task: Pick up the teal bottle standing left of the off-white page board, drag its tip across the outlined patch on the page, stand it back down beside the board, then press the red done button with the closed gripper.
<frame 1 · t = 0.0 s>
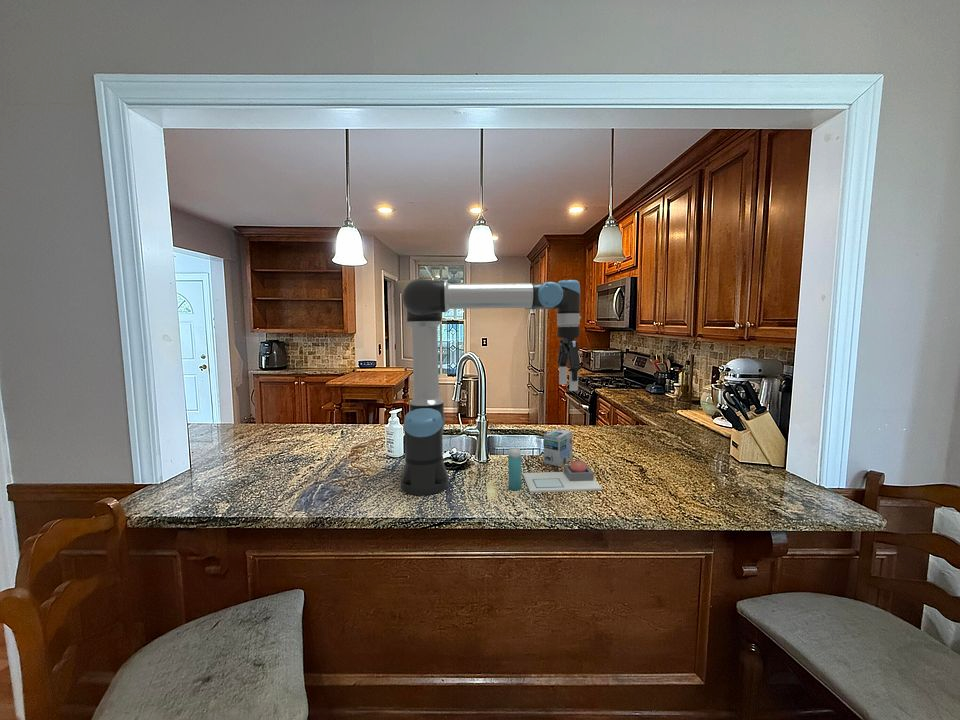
hand: (568, 387, 138), 28 cm above the worktop, fingers open, 13 cm apart
light bulb box: (558, 461, 145), on the worktop
teal bottle: (514, 487, 122), on the worktop
page board: (560, 482, 126), on the worktop
done button: (578, 467, 129), point 3 cm above the worktop, slide at 0.0 cm
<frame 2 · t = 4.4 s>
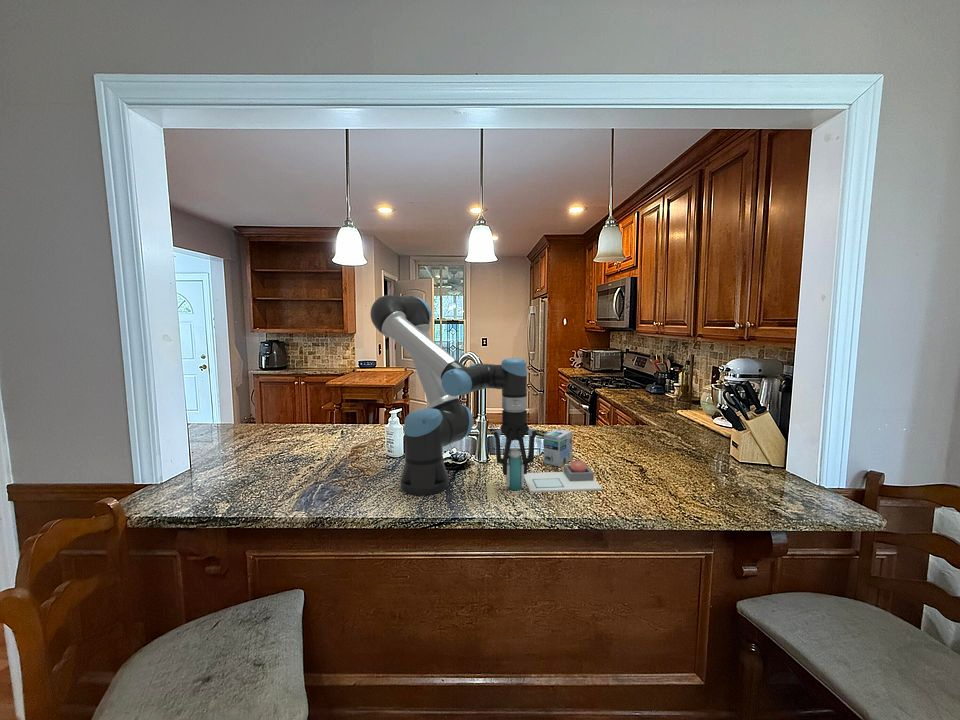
hand: (514, 484, 122), 1 cm above the worktop, fingers closed on teal bottle, 4 cm apart
teal bottle: (515, 487, 122), on the worktop, touching gripper
everything else where it was.
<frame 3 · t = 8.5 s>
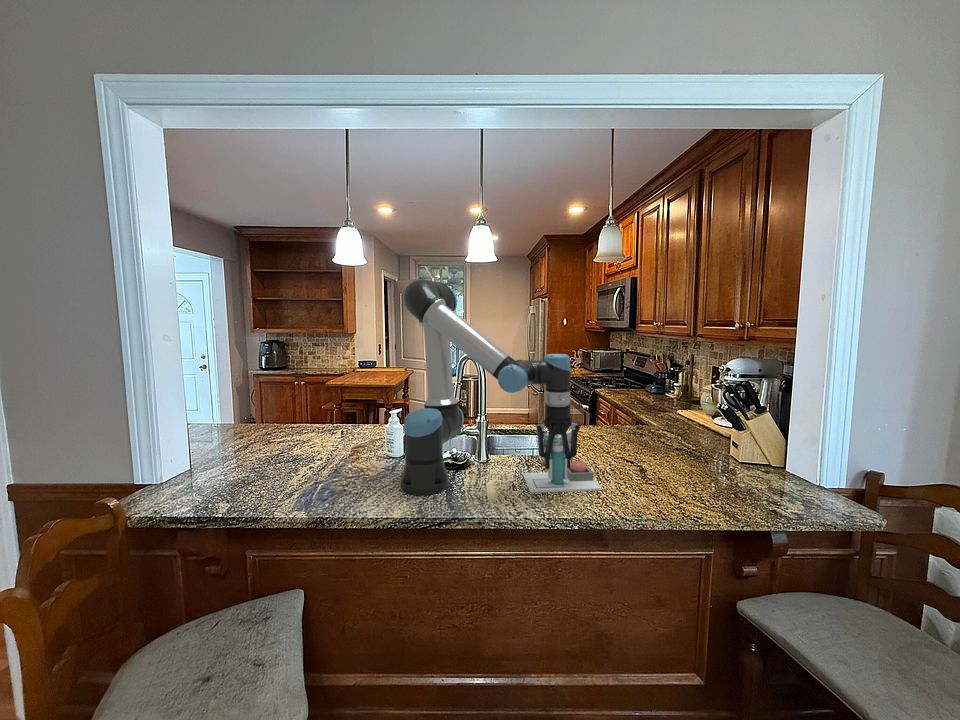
hand: (557, 477, 124), 2 cm above the worktop, fingers closed on teal bottle, 4 cm apart
teal bottle: (557, 482, 124), point 1 cm above the worktop, touching gripper
everything else where it was.
when the fingers open (2 cm above the worktop, at t = 12.6 s): teal bottle stays where it is, on the worktop.
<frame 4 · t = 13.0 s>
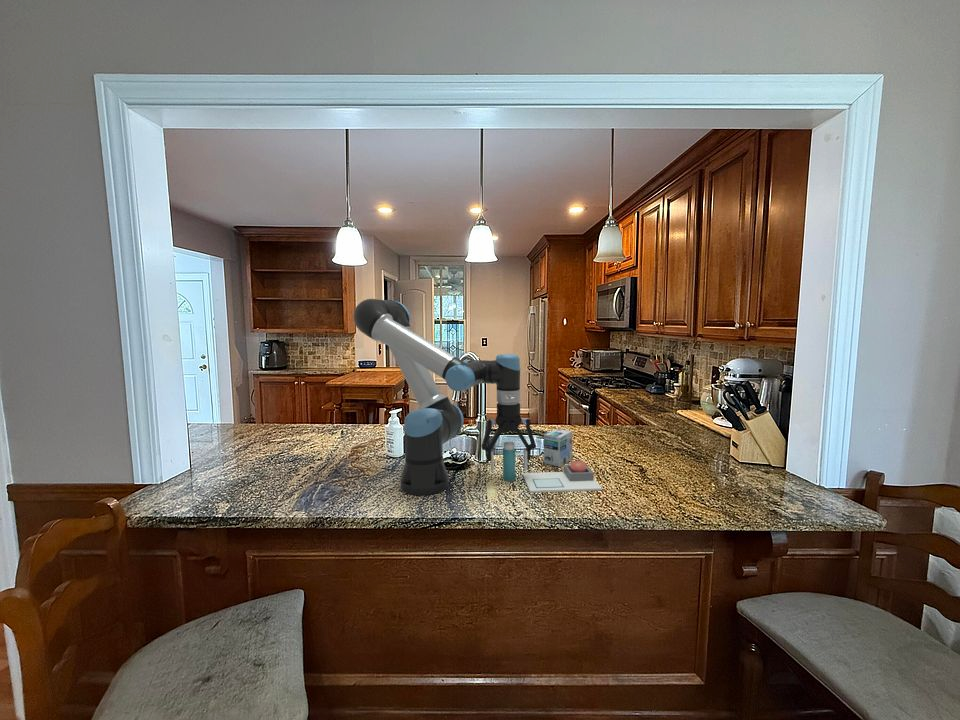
hand: (508, 469, 129), 3 cm above the worktop, fingers open, 10 cm apart
teal bottle: (509, 479, 129), on the worktop
everything else where it was.
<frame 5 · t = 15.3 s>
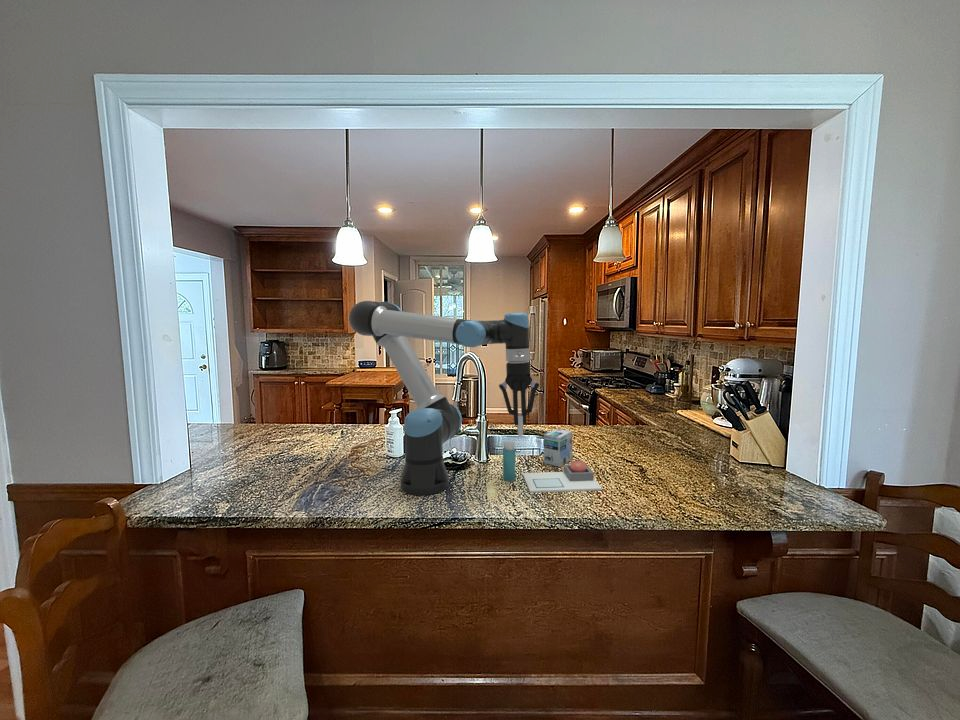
hand: (520, 434, 127), 15 cm above the worktop, fingers closed
nothing on the worktop moved.
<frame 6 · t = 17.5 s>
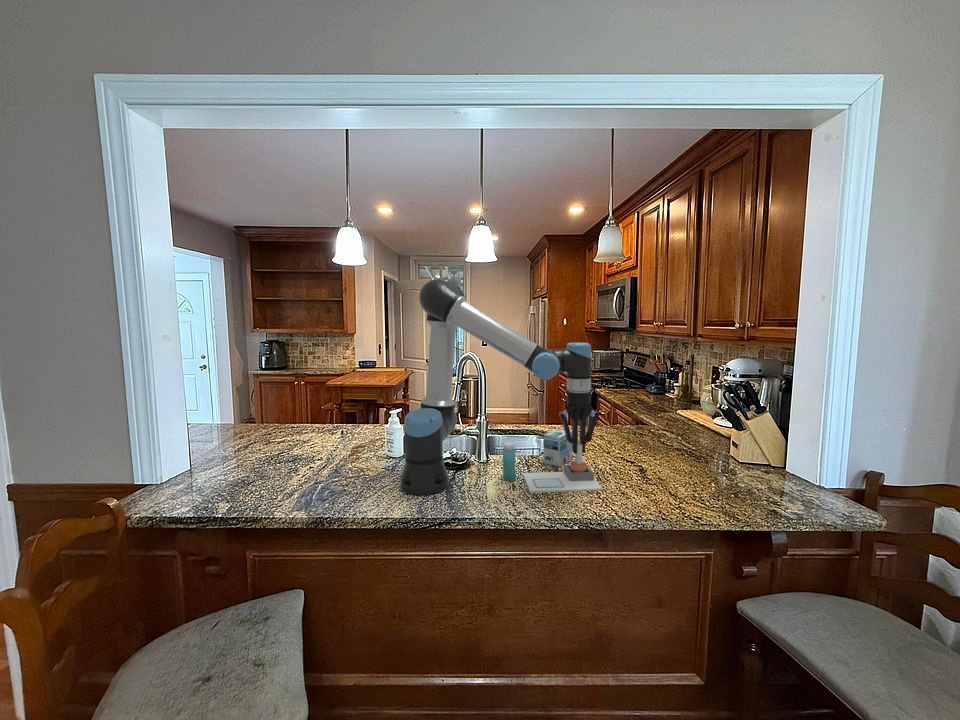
hand: (578, 462, 129), 5 cm above the worktop, fingers closed
done button: (578, 467, 129), point 3 cm above the worktop, slide at 0.0 cm, touching gripper
everything else where it was.
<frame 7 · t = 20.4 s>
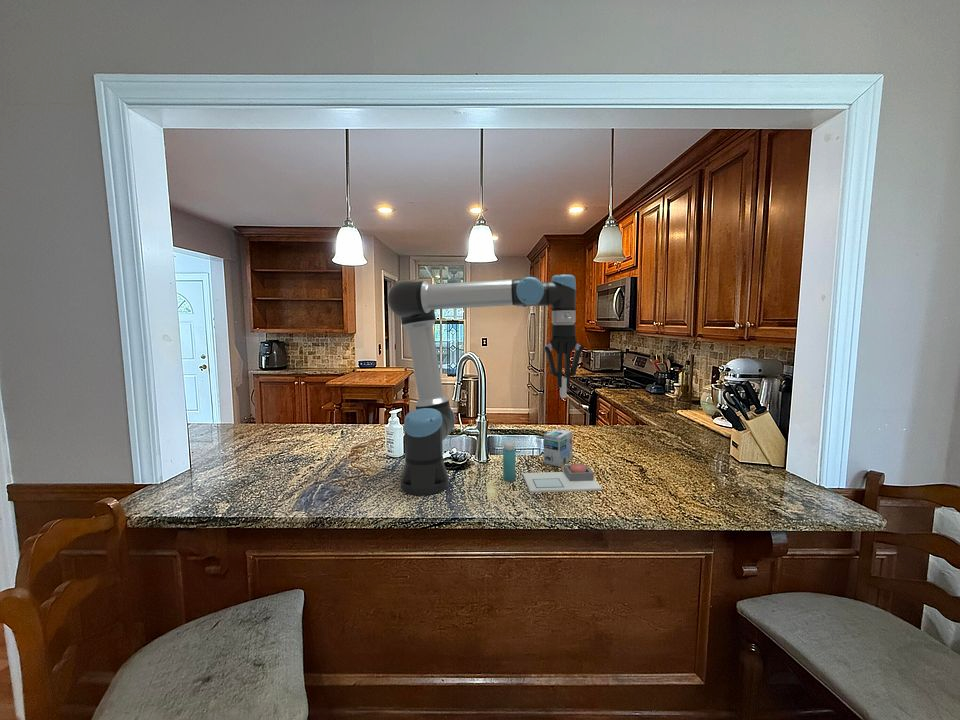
hand: (563, 397, 129), 26 cm above the worktop, fingers closed
done button: (578, 470, 129), point 2 cm above the worktop, slide at 0.9 cm
everything else where it was.
at the end: done button slide at 0.9 cm; teal bottle inside the target area (0.1 cm from its centre), on the worktop; the gripper is holding nothing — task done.
